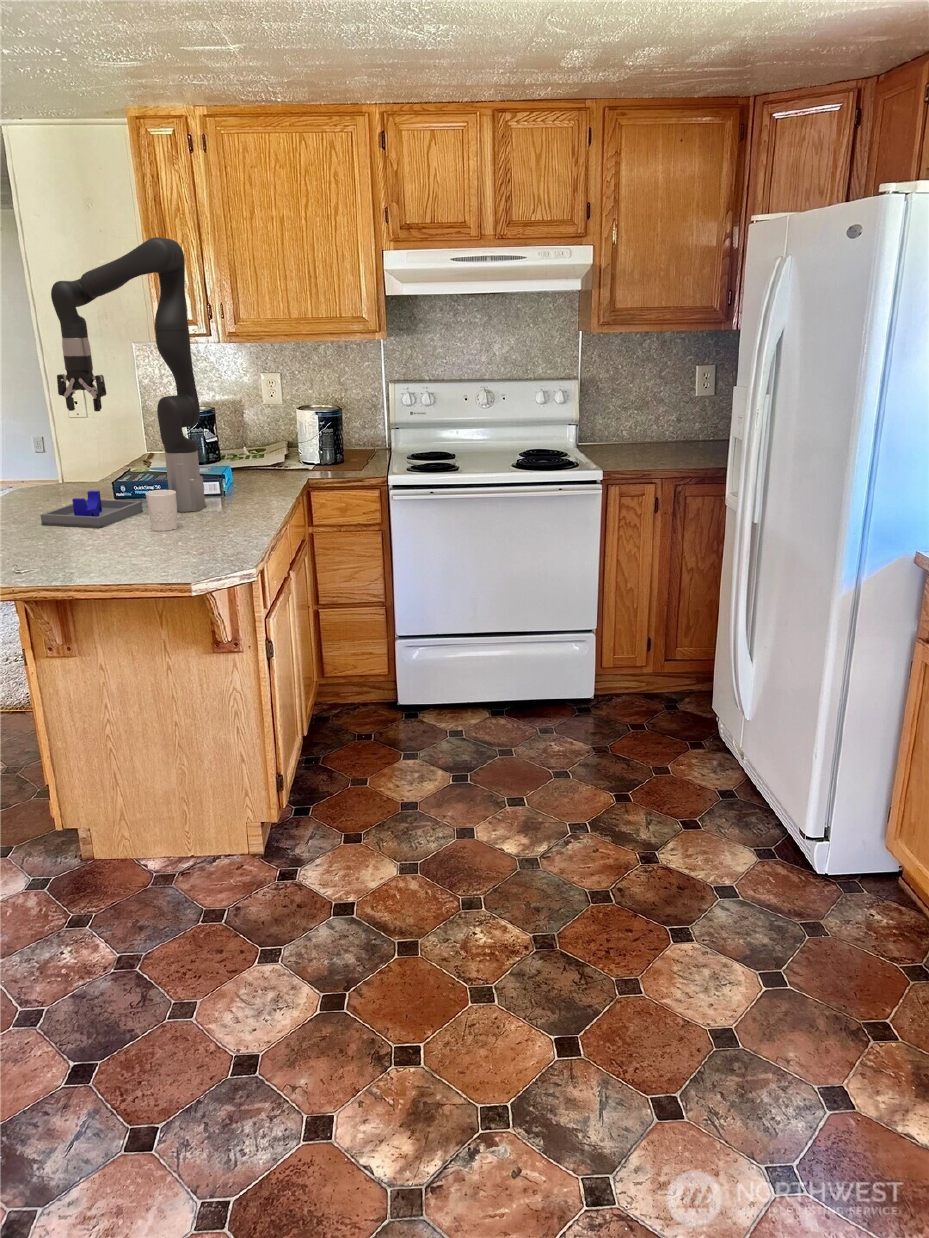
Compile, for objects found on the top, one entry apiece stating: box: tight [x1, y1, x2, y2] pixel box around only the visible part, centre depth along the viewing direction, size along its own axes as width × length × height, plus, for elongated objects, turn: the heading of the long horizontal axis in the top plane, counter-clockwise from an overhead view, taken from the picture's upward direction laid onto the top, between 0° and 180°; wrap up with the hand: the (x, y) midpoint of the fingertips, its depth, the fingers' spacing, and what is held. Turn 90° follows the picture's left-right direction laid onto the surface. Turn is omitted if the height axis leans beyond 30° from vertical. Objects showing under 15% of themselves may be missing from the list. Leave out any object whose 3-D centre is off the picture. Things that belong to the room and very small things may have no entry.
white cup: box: [145, 489, 178, 532], centre depth 251 cm, size 8×8×10 cm
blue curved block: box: [71, 490, 102, 517], centre depth 263 cm, size 12×4×6 cm, turn 179°
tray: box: [40, 498, 144, 529], centre depth 264 cm, size 18×22×3 cm
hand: (84, 411), depth 273 cm, fingers open, 8 cm apart
